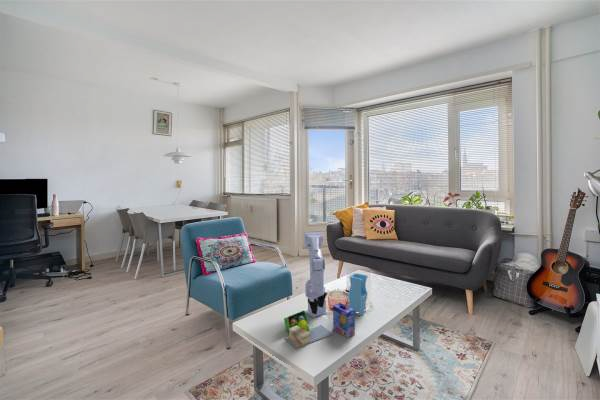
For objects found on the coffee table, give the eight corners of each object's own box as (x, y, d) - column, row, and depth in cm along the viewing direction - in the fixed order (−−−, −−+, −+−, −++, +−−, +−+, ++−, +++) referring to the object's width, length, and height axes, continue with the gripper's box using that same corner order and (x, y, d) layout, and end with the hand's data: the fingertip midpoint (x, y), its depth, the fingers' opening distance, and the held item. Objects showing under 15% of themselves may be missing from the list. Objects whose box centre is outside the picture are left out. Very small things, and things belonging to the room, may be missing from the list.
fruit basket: (298, 309, 151) (313, 310, 143) (302, 327, 149) (317, 329, 141) (281, 316, 143) (295, 317, 135) (284, 335, 142) (299, 337, 133)
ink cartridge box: (332, 329, 143) (332, 300, 142) (340, 325, 147) (340, 297, 146) (347, 338, 136) (347, 308, 134) (355, 334, 139) (355, 304, 138)
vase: (360, 315, 157) (361, 279, 155) (347, 311, 162) (348, 276, 160) (367, 310, 163) (367, 275, 161) (354, 306, 168) (354, 272, 166)
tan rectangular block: (309, 341, 132) (309, 332, 132) (302, 345, 129) (302, 336, 129) (296, 333, 139) (296, 325, 138) (289, 336, 136) (289, 328, 135)
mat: (321, 325, 147) (321, 324, 147) (333, 334, 139) (333, 333, 139) (284, 338, 135) (284, 337, 135) (295, 348, 127) (295, 347, 127)
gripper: (316, 277, 150) (316, 302, 152) (303, 286, 138) (303, 314, 139) (329, 279, 147) (328, 305, 148) (317, 289, 134) (317, 318, 135)
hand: (317, 310), depth 143 cm, fingers open, 7 cm apart
